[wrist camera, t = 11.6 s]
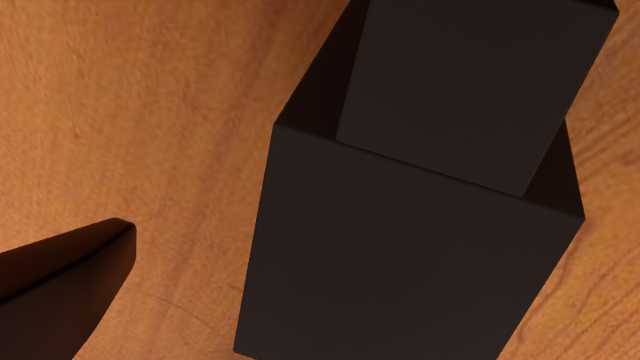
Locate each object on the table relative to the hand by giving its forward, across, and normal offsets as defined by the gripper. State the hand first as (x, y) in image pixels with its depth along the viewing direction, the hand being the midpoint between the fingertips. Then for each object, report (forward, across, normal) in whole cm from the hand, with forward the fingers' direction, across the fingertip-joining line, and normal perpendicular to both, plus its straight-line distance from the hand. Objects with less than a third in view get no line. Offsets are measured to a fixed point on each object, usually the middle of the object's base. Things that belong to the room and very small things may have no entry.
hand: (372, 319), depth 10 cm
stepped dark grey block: (+10, 0, +1) cm, 10 cm away
